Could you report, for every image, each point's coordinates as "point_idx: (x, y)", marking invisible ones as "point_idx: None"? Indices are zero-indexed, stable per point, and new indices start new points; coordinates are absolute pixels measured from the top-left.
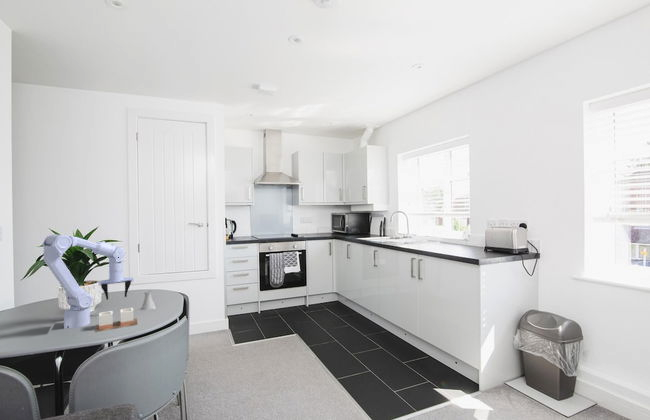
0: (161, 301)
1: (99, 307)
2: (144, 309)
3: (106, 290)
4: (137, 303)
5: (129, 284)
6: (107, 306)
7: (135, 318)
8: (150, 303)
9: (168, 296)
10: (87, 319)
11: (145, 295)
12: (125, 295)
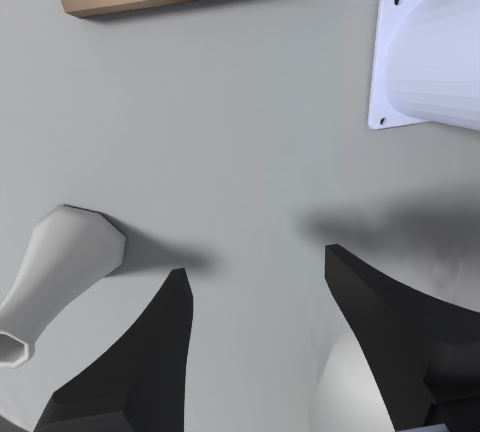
0: (66, 358)
1: (329, 352)
2: (86, 225)
3: (398, 302)
4: None
5: (57, 398)
6: (300, 355)
7: (72, 5)
8: (31, 255)
9: None
10: (436, 15)
11: (38, 315)
12: (175, 277)
